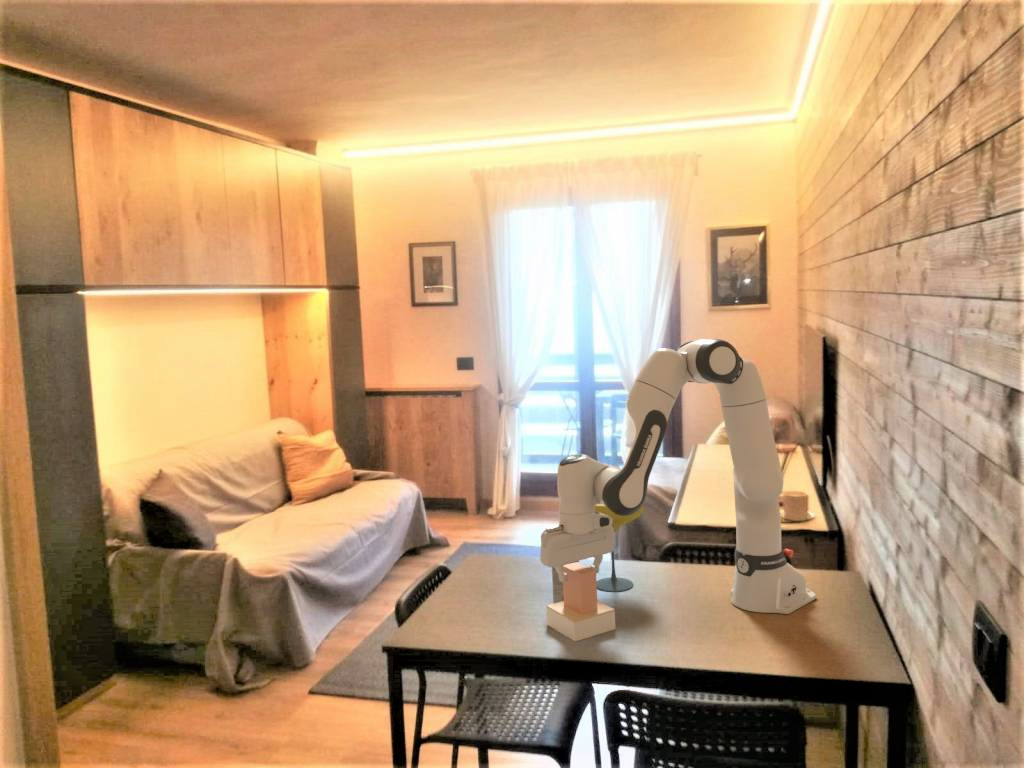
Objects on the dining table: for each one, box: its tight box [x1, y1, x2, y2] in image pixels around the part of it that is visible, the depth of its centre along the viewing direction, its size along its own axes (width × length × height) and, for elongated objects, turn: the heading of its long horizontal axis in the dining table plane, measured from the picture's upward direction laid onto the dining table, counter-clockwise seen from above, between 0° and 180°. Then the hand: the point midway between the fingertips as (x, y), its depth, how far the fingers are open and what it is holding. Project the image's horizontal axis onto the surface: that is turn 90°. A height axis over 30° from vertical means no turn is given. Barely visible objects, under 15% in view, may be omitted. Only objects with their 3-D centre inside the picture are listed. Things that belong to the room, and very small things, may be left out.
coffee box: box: [551, 560, 580, 604], centre depth 209 cm, size 9×6×16 cm
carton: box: [562, 561, 598, 615], centre depth 190 cm, size 4×8×10 cm, turn 30°
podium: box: [546, 600, 616, 642], centre depth 190 cm, size 12×12×5 cm
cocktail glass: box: [595, 503, 645, 593], centre depth 217 cm, size 18×18×25 cm
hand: (579, 576), depth 189 cm, fingers open, 8 cm apart
